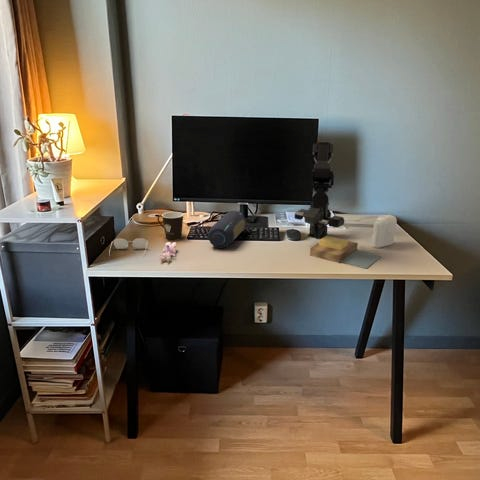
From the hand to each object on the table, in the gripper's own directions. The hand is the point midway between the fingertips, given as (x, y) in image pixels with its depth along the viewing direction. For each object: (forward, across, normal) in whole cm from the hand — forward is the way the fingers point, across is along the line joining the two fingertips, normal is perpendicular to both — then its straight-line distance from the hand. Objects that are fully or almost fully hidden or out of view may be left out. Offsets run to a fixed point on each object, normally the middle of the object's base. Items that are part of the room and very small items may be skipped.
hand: (317, 238), depth 181 cm
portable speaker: (+4, -34, -13) cm, 37 cm away
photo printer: (+4, +19, +20) cm, 28 cm away
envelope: (+5, -2, +40) cm, 41 cm away
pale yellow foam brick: (+1, +7, 0) cm, 7 cm away
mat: (+4, +18, 0) cm, 19 cm away
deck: (+4, +7, 0) cm, 8 cm away
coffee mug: (+4, -55, -25) cm, 60 cm away
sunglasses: (+5, -55, -48) cm, 73 cm away
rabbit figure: (+4, -40, -41) cm, 58 cm away
